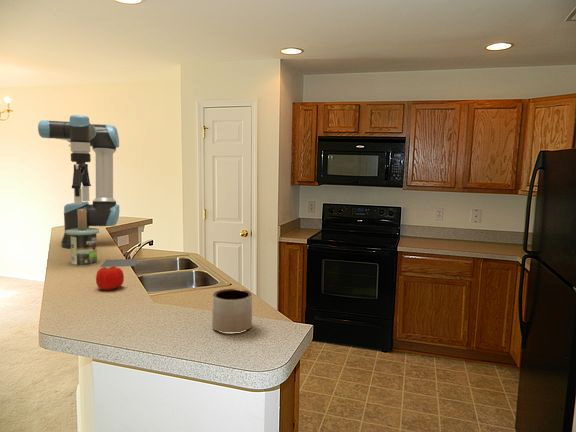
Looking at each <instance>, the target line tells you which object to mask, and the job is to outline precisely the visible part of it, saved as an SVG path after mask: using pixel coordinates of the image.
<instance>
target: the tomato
mask: <svg viewBox="0 0 576 432" xmlns="http://www.w3.org/2000/svg"><path fill="white" fill-rule="evenodd" d="M124 279H125V276H124V271H123V269H122V268H120V267H115V266H114V267H100V268H99V269H98V270H97V272H96V274H95V282H96V285H97V287H98V289H100V290H103V291H105V290H107V291H111V290H114V289H118V288H120V287H121V286H122V285H123V283H124Z"/></svg>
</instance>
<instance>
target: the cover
mask: <svg viewBox="0 0 576 432" xmlns="http://www.w3.org/2000/svg"><path fill="white" fill-rule="evenodd" d="M77 211H78V228H74V229H68V230H66V234H68V235H90V234H96V233H97V234H99V233H100V229H99V228H98V227H96V228H95V227H89V228H87V218H86V209H77ZM97 234H96V235H97Z"/></svg>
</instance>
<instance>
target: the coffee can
mask: <svg viewBox="0 0 576 432" xmlns="http://www.w3.org/2000/svg"><path fill="white" fill-rule="evenodd" d="M97 234H98V233H96V234H90V235H71V248H70V254H71V255H70V257H71V265H72V266H76V267H85V266H92V265H96V264H98V254H97V253H98V249H97V248H98V247H97V246H98V245H97V242H98V241H97Z"/></svg>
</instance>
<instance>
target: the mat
mask: <svg viewBox="0 0 576 432" xmlns="http://www.w3.org/2000/svg"><path fill="white" fill-rule="evenodd" d="M138 261H139V258H127V259H126V258H124V259H123V258H122V259H121V258H119V259H116V258H115V259H105V260H104V261H103V263H102V264H100V266H99V267H100V268H103V267H106V268H110V267H114V266H115V267H117V268H119V267H135V266H136V265H137V263H138Z"/></svg>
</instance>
